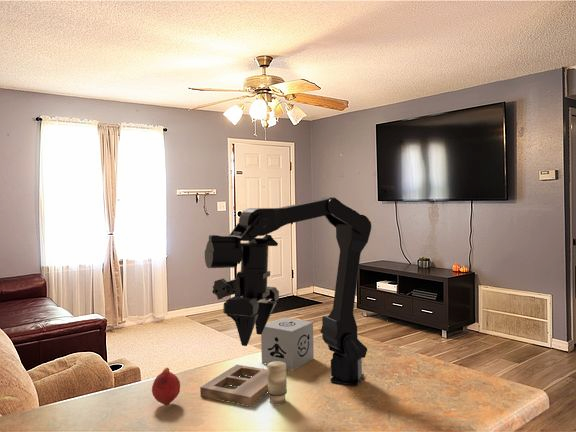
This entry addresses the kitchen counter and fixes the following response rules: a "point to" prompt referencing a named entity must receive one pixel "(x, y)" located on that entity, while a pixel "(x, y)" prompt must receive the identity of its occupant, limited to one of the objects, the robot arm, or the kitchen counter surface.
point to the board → (247, 388)
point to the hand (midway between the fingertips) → (252, 339)
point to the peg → (277, 382)
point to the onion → (166, 387)
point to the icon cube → (288, 342)
